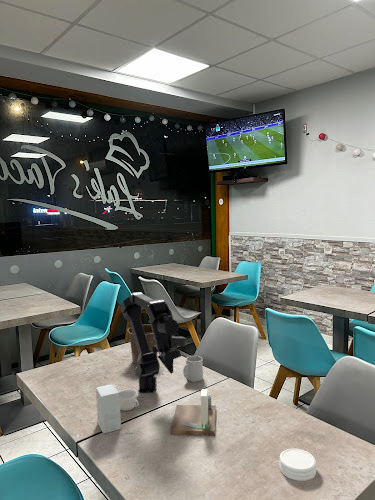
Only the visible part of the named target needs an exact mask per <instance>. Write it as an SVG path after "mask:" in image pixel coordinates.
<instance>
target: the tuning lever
mask: <svg viewBox="0 0 375 500" xmlns="http://www.w3.org/2000/svg"><path fill="white" fill-rule="evenodd" d="M200 405H201V424H203V429H205V425H207V424H208V410H209V409H211V405H212V397H211V395H208V388H202V389H201V392H200Z"/></svg>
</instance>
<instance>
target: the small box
mask: <svg viewBox="0 0 375 500" xmlns="http://www.w3.org/2000/svg"><path fill="white" fill-rule="evenodd" d="M95 391H96V410H97V413H96V416H97V424H98V426H99V428H100V430H101V432H102V433H103V434H107V433H111V432H114V431H119V430H121V429H122V421H121V419H122V418H121V409H120V395H119V391H120V390H118V388H117V387H116V386H115V384H114V383H111V384H107V385H106V384H105V385H102V386H97V387H95Z"/></svg>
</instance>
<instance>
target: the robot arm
mask: <svg viewBox="0 0 375 500" xmlns="http://www.w3.org/2000/svg"><path fill="white" fill-rule="evenodd" d="M142 309H144V310H145V314H146V315H148V317H149V319H148V324H150V325H151V327H152V331H153V334H154V338H153V339H154V340H155V342H156V345H154V346H153V348H152V349H153V352H152V351H150V349H149V346H148V342H147V339H146V336H145V333H144V329H143V326H142V325H143V324H142V321H141V316H142V313H143V312H142V311H143V310H142ZM120 312H121V313H122V316H123V318H124V319H125V320H126V321H127V322H128V323H129V325H130V327H131V329H132V333H133V336H134V339H135V343H136V346H137V350H138V353H139V356H138V360H137V364H136V365H137V366H136V367H135V369H134V373H135V376H136V378H138V393H152V394H153V393H154V392H155V390H156V389H157V387H158V385H157V382H158V381H157V377H156V375H159V373H160V372H159V371H160V362H161V363H162V365H163V366H164V367H165V368H166V369H167V372H168V373H170V374H173V373H174V360H176V359H178V358H180V357H181V356H182V354H181V350H178V349H177V348H176V347H183V348H184V347H186V342H187V341H186V340H187V338H186V337H184V336H181V335H179V333H178V332H179V329H180V326H179V323H178V322H177V320H176V319H174V317H173V314H172V310H171V309H170V307H169V306H168V303H167V302H166V301H165V300H164V299H154V298H151V297H149V296H148V295H146V294H143V292H139V291H138V292H137V291H136V292H131V293H130V294H129V295H128V296H127V297H126V298H125V299H124V300H123V301H122V302H121V305H120ZM156 352H158V355H157V356H156Z"/></svg>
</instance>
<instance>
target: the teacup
mask: <svg viewBox="0 0 375 500" xmlns="http://www.w3.org/2000/svg"><path fill="white" fill-rule="evenodd" d="M118 391H119V395H120V411H124V412H127V411H131V410H132V409H134V408H137V407H138V406H139V405H140V404H139V401H138V400H137V394H138V393H137V392H136V391H135V390H133V389H123V390H118Z"/></svg>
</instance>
